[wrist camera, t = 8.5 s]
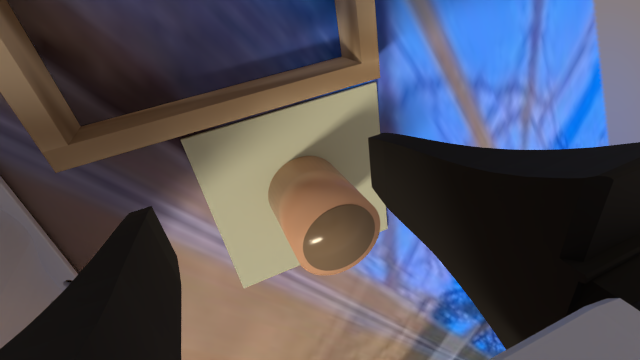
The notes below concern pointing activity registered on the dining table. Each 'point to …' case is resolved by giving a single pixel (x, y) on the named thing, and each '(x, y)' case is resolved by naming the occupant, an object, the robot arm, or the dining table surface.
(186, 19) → the dining table surface
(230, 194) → the potting mat
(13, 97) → the cold frame
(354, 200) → the terracotta pot
